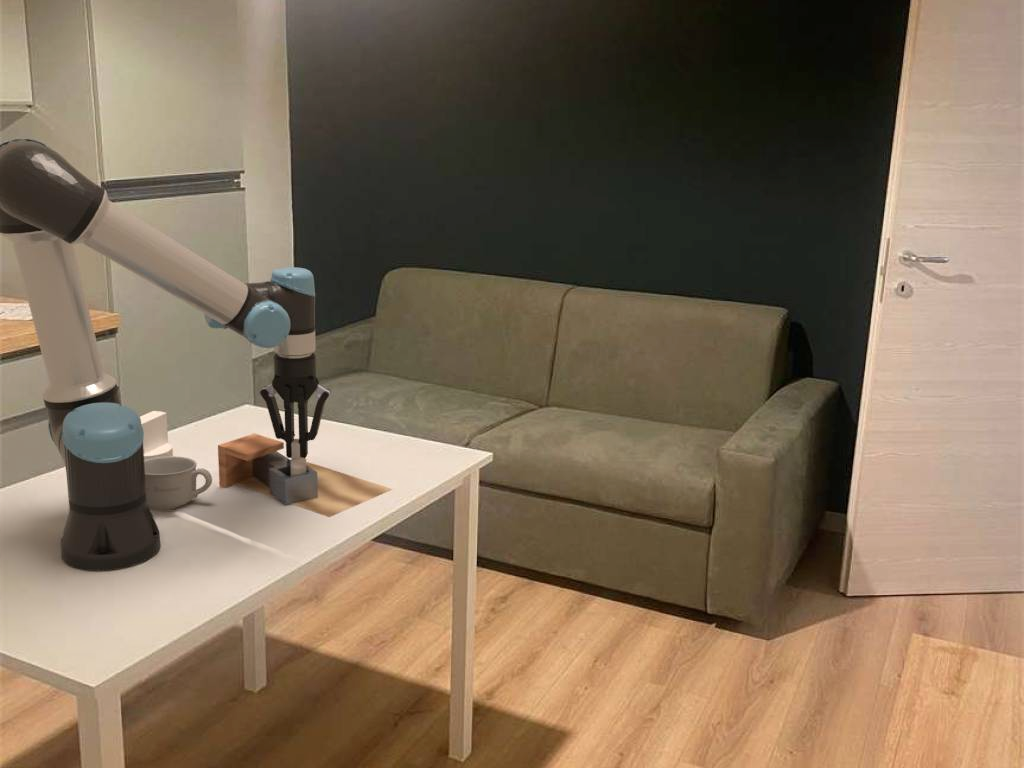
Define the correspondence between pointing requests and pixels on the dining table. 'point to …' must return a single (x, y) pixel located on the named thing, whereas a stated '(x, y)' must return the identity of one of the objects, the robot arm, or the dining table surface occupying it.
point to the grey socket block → (285, 479)
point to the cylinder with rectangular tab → (155, 435)
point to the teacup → (172, 482)
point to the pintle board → (329, 491)
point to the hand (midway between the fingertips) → (297, 473)
